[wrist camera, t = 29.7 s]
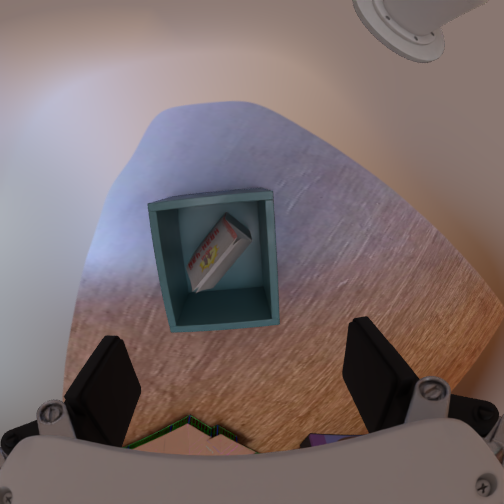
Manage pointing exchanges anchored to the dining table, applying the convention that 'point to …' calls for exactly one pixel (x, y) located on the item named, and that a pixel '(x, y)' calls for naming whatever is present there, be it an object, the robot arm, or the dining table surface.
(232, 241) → the tea bag
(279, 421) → the dining table surface
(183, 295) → the waste bin
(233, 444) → the house
